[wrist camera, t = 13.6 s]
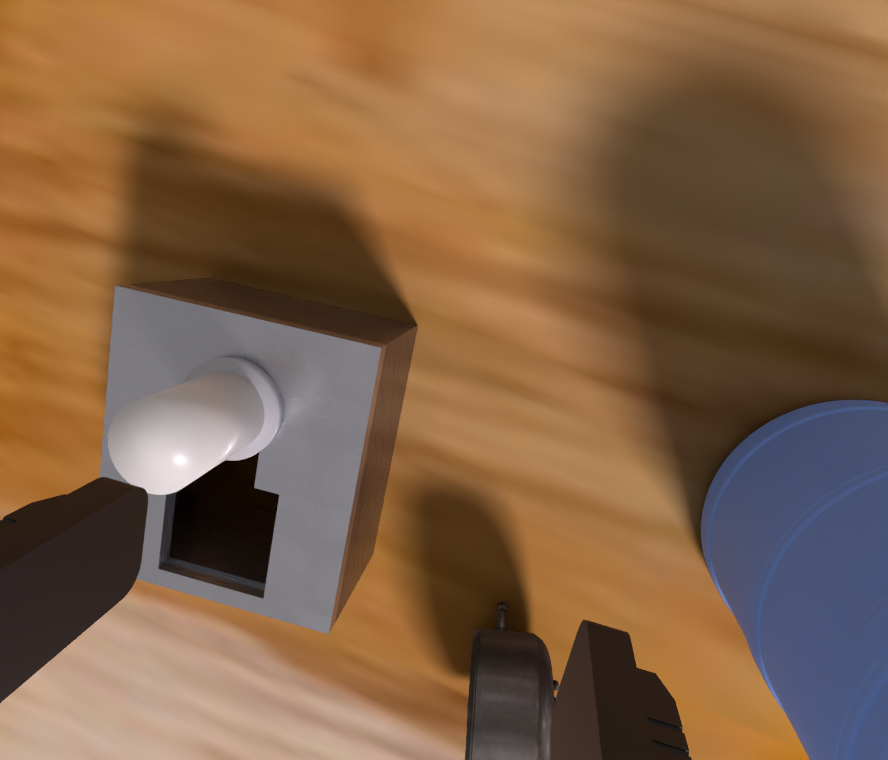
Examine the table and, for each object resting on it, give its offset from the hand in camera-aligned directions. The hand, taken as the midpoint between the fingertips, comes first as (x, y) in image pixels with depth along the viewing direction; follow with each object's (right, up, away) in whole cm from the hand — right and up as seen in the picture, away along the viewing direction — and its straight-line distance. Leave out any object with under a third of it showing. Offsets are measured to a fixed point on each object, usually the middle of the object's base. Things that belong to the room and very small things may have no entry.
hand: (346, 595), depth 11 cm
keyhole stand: (-8, +1, +30) cm, 31 cm away
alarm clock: (+7, -15, +31) cm, 36 cm away
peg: (-8, +3, +24) cm, 26 cm away
